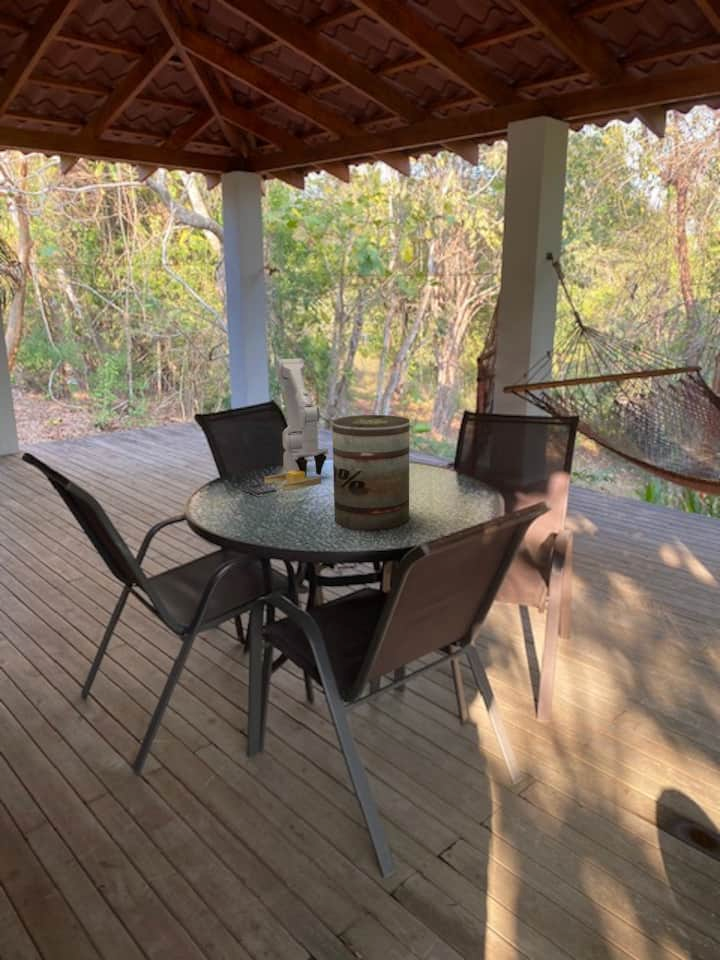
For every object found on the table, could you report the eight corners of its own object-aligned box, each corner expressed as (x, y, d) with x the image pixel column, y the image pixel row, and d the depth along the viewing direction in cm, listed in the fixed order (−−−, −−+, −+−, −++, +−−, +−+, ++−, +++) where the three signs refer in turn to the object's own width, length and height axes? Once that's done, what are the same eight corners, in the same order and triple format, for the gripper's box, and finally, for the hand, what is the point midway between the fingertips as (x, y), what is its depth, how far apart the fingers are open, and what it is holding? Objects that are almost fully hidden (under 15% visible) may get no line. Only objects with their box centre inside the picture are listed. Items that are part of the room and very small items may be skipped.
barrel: (332, 510, 211) (330, 416, 203) (402, 507, 213) (402, 414, 205) (337, 533, 189) (334, 428, 181) (415, 529, 191) (415, 426, 184)
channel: (264, 485, 242) (264, 477, 241) (299, 478, 251) (298, 470, 250) (285, 493, 231) (285, 484, 230) (321, 485, 240) (320, 477, 239)
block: (286, 482, 242) (285, 471, 241) (298, 480, 245) (297, 469, 244) (294, 485, 238) (293, 474, 237) (305, 482, 241) (305, 471, 240)
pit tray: (242, 490, 235) (242, 487, 235) (259, 487, 239) (259, 483, 239) (258, 497, 227) (258, 493, 226) (275, 493, 231) (275, 489, 230)
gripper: (299, 443, 235) (300, 481, 238) (332, 438, 243) (333, 474, 247) (288, 440, 240) (290, 477, 243) (321, 435, 249) (322, 471, 252)
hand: (311, 475), depth 246 cm, fingers open, 6 cm apart
